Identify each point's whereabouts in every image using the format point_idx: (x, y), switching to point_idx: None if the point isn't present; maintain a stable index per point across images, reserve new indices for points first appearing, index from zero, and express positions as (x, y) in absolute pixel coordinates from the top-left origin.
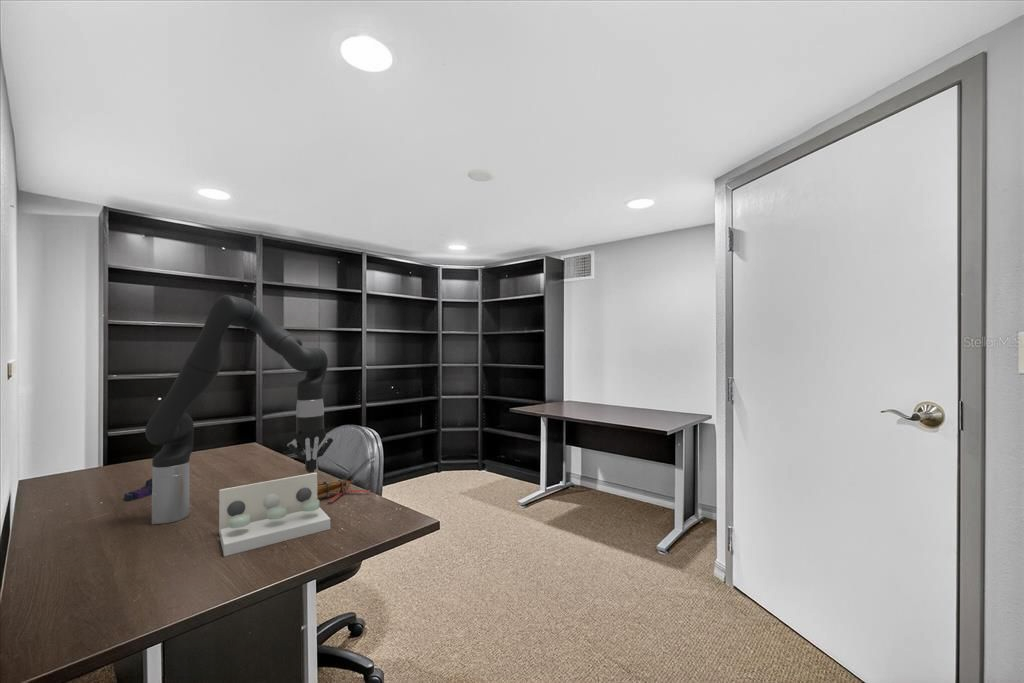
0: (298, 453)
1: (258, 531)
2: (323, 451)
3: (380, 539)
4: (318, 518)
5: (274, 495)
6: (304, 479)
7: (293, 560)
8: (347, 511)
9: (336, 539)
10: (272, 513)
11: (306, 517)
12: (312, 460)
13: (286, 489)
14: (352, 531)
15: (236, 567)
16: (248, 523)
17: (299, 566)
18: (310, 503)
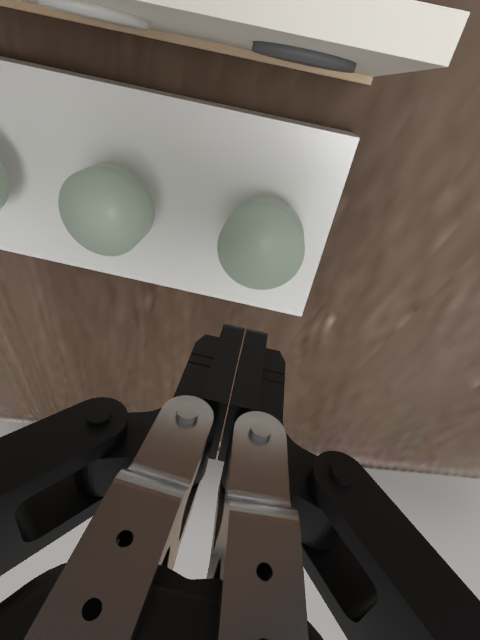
0: (31, 529)
1: (60, 217)
2: (340, 574)
3: (343, 447)
4: None
5: (95, 14)
6: (314, 42)
7: (144, 384)
8: (472, 180)
9: None
10: (80, 241)
11: None
12: (224, 459)
13: (172, 18)
14: (333, 363)
15: (25, 318)
16: (1, 206)
17: None
18: (249, 271)
